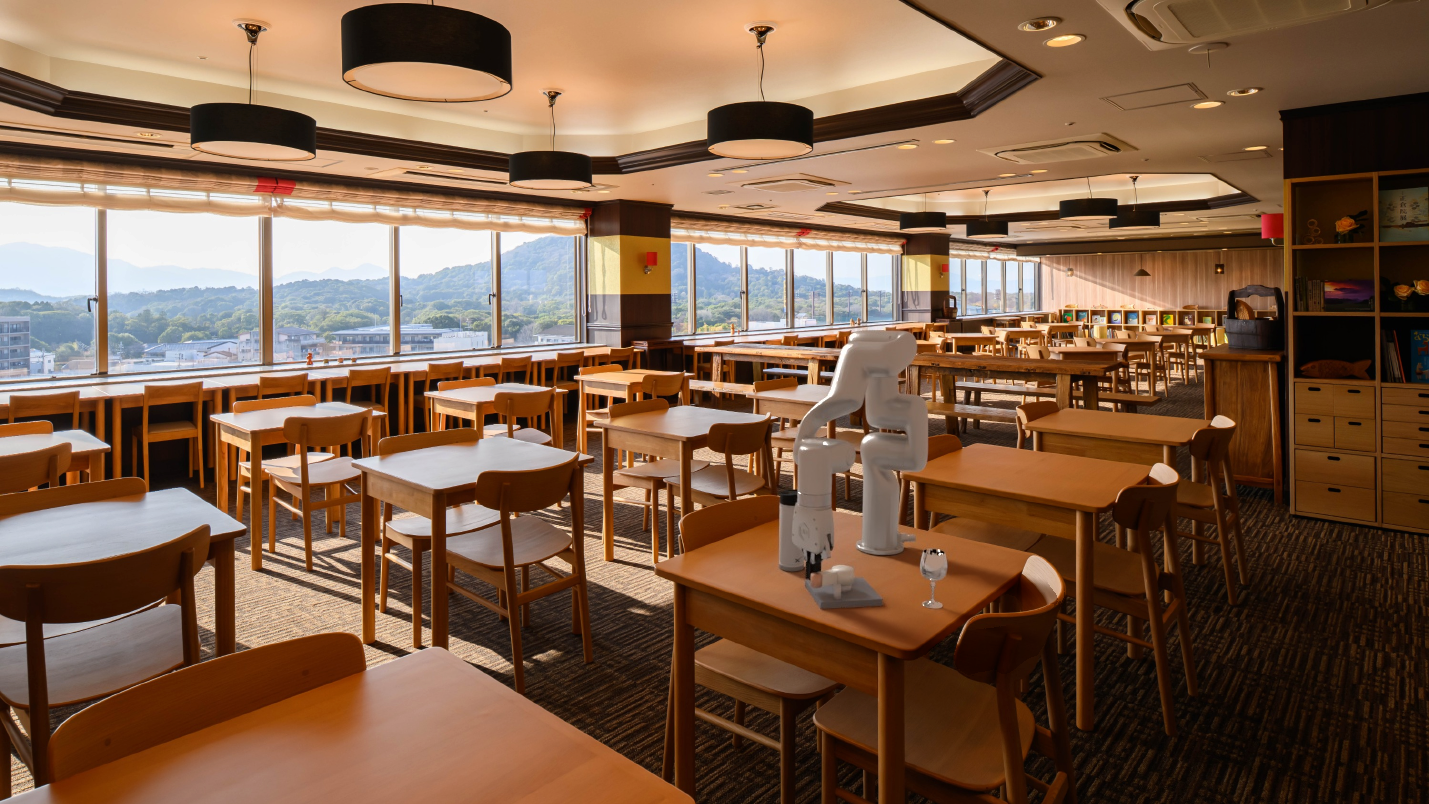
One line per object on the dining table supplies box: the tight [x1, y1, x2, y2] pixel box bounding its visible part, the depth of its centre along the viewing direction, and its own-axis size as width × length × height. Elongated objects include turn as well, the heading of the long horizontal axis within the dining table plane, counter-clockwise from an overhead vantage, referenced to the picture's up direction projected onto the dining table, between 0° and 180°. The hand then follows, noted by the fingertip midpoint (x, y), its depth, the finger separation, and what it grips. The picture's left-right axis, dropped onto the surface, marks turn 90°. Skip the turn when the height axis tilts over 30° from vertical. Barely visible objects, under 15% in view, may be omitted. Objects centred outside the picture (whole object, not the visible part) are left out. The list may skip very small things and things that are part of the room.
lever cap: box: [811, 564, 855, 588], centre depth 177 cm, size 11×5×3 cm, turn 119°
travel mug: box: [778, 488, 805, 573], centre depth 196 cm, size 6×7×20 cm
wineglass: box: [919, 548, 948, 610], centre depth 173 cm, size 6×6×12 cm
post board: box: [804, 576, 884, 610], centre depth 179 cm, size 14×14×4 cm
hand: (813, 578), depth 178 cm, fingers closed
